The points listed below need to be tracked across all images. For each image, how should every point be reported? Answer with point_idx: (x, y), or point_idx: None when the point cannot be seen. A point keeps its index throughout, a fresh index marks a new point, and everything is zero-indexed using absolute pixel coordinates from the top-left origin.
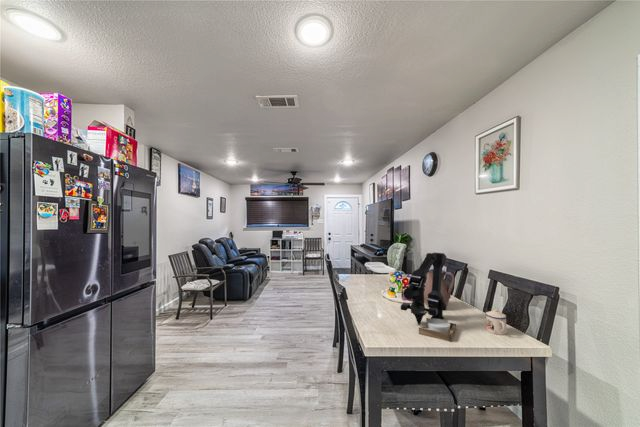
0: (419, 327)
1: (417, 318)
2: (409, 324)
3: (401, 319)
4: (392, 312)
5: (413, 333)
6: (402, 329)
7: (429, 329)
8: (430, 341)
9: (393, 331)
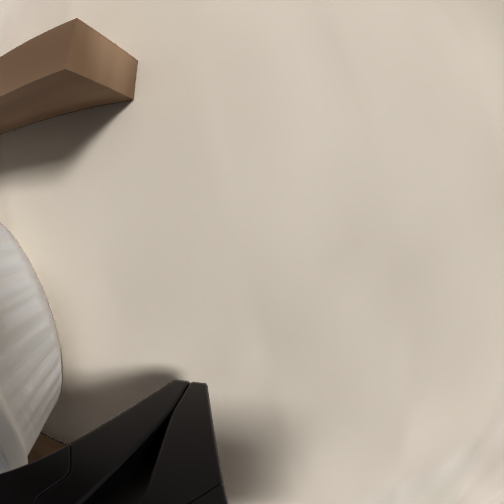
0: (60, 69)
1: (158, 488)
2: (384, 395)
3: (465, 450)
4: (496, 489)
5: (226, 25)
6: (455, 105)
7: (9, 266)
8: (21, 4)
9: (495, 3)
